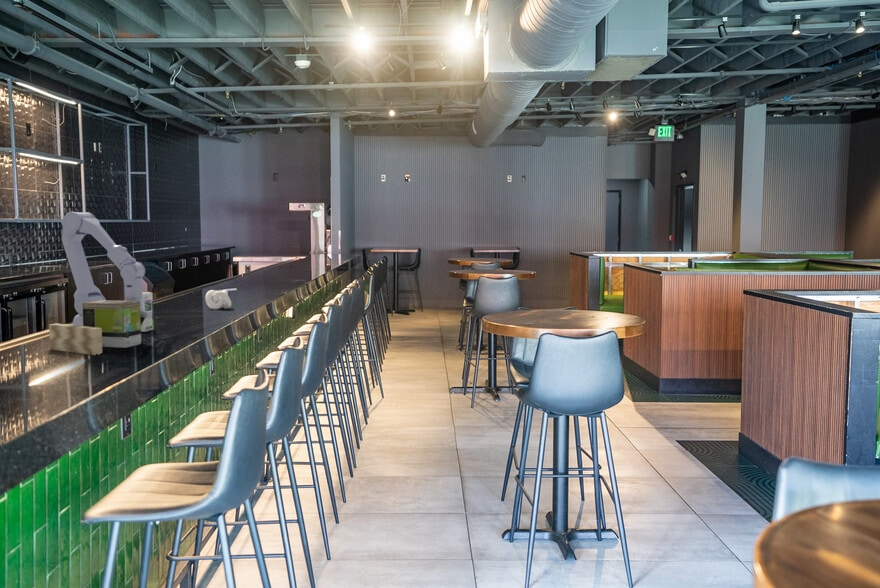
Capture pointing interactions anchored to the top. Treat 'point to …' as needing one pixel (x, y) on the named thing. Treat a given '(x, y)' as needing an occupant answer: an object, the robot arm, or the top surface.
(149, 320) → the syrup box
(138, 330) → the tea box
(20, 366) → the top surface
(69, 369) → the top surface
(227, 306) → the white curved lump
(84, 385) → the top surface
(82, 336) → the birch board
